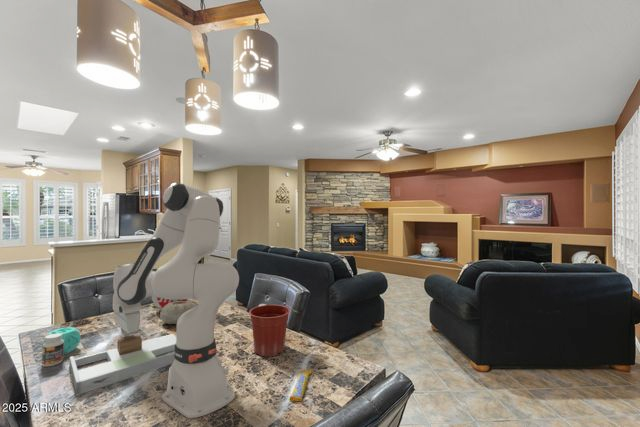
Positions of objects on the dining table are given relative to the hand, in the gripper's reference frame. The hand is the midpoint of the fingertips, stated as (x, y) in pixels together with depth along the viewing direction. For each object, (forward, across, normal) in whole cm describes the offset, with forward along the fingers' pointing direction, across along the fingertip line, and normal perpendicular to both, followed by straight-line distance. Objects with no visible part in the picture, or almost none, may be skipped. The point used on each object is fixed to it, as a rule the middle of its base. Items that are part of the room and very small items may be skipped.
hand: (125, 337), depth 115 cm
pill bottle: (+5, -6, -21) cm, 22 cm away
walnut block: (+2, +8, -1) cm, 8 cm away
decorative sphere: (+5, -38, +32) cm, 50 cm away
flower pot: (+5, +43, +39) cm, 58 cm away
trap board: (+4, +14, -1) cm, 15 cm away
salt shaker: (+5, +27, +48) cm, 55 cm away
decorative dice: (+5, -16, -17) cm, 24 cm away
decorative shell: (+5, -15, +28) cm, 32 cm away
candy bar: (+5, +71, +30) cm, 77 cm away
